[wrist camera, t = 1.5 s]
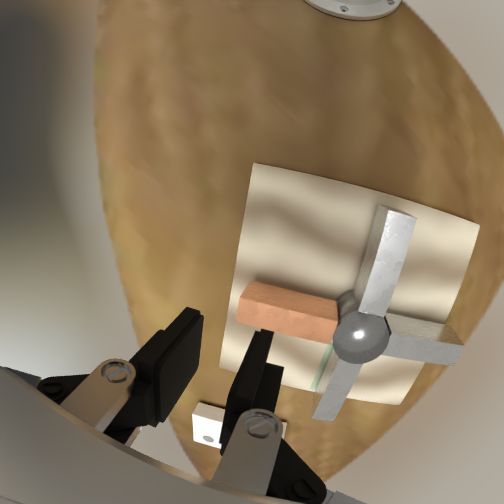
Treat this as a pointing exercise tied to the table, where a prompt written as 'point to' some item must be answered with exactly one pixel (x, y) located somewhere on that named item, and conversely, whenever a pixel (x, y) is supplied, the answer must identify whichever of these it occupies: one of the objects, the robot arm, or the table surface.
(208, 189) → the table surface
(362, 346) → the capstan
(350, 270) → the base plate
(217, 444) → the bracket
